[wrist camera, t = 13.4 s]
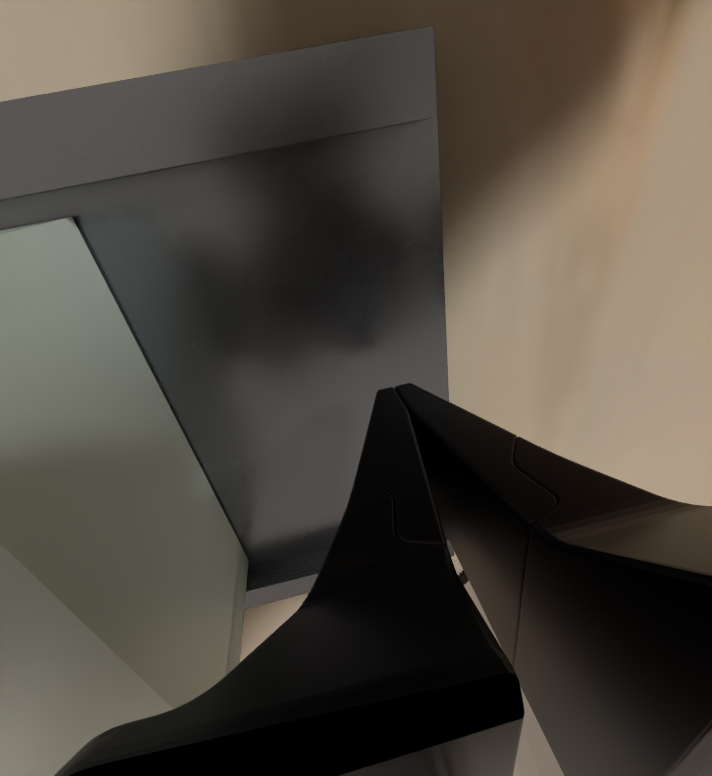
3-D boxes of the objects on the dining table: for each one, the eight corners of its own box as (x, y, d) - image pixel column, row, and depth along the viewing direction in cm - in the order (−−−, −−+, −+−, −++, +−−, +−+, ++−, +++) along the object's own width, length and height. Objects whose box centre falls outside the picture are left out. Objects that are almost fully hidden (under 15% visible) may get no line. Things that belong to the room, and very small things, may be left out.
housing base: (415, 41, 8) (558, -89, 4) (444, 516, 17) (501, 642, 12) (-468, 200, 8) (-1547, 252, 3) (28, 620, 16) (-69, 796, 11)
